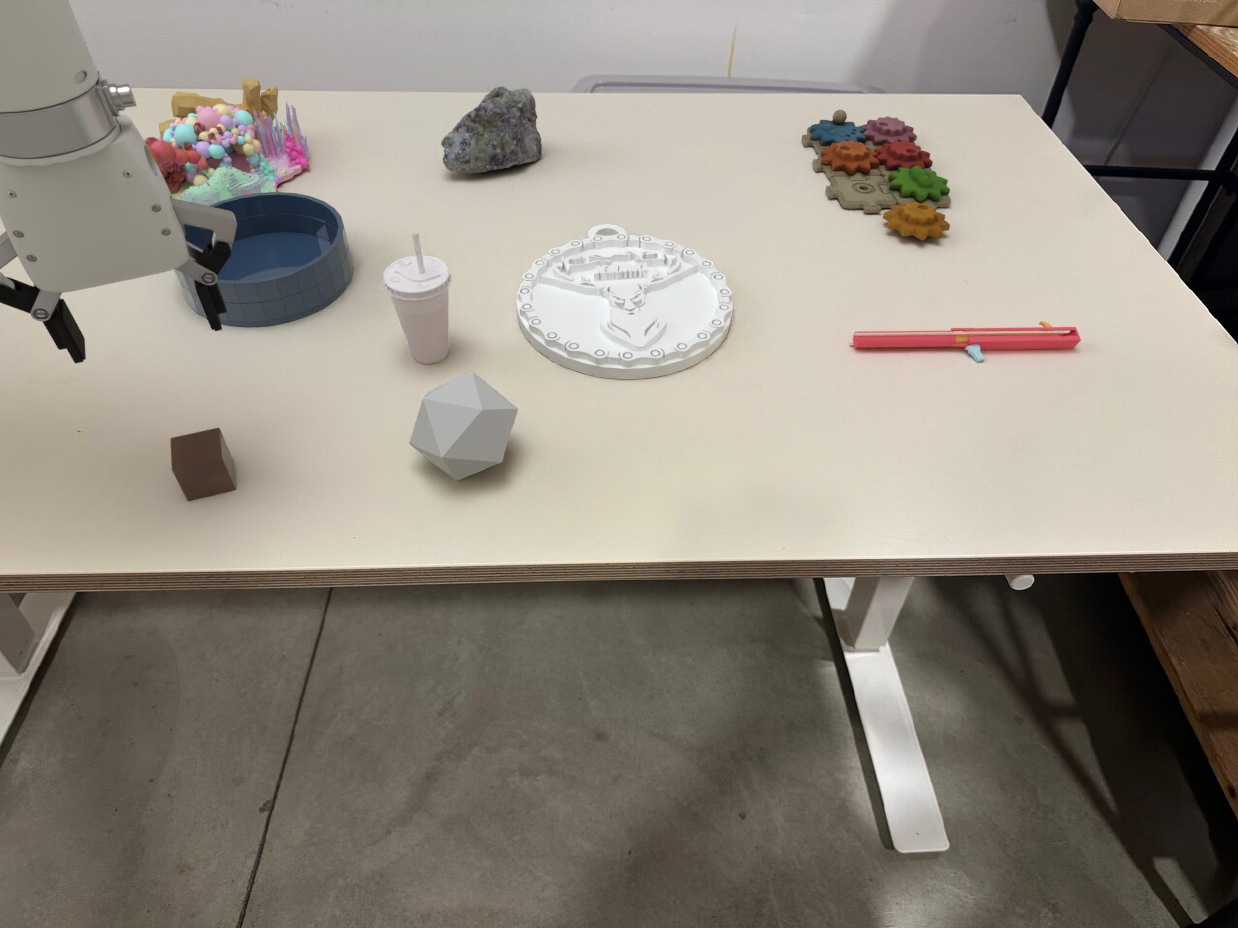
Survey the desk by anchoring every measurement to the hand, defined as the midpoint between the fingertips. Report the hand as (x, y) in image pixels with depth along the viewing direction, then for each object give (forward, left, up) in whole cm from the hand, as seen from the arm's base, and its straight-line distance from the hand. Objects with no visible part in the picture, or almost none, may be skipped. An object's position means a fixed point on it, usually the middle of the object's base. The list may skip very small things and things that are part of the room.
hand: (149, 336), depth 66 cm
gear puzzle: (+86, +25, -15) cm, 91 cm away
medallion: (+44, +12, -15) cm, 48 cm away
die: (+22, -6, -15) cm, 27 cm away
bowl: (+8, +29, -15) cm, 34 cm away
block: (0, -1, -15) cm, 15 cm away
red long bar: (+75, -8, -15) cm, 77 cm away
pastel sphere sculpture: (+4, +55, -15) cm, 57 cm away
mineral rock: (+39, +47, -15) cm, 63 cm away
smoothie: (+22, +10, -15) cm, 28 cm away
